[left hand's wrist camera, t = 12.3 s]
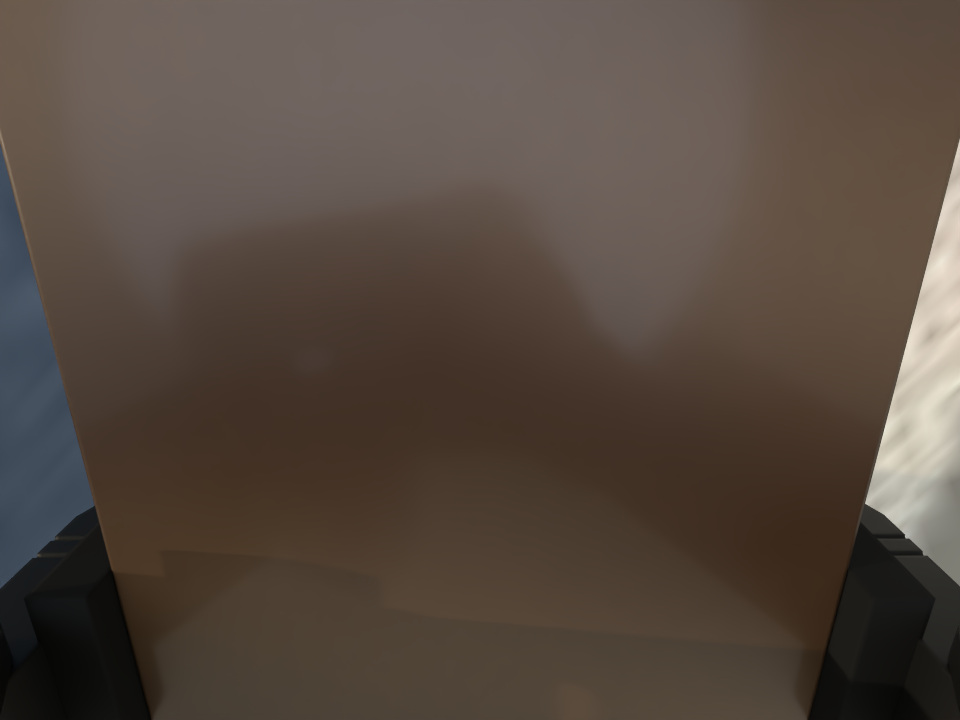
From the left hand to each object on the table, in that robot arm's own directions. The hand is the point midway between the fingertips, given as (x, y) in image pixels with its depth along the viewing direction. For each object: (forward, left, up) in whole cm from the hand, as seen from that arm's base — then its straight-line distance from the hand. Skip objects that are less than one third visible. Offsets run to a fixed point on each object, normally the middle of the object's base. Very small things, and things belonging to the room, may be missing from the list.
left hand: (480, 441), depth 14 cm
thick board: (+21, +23, -1) cm, 31 cm away
